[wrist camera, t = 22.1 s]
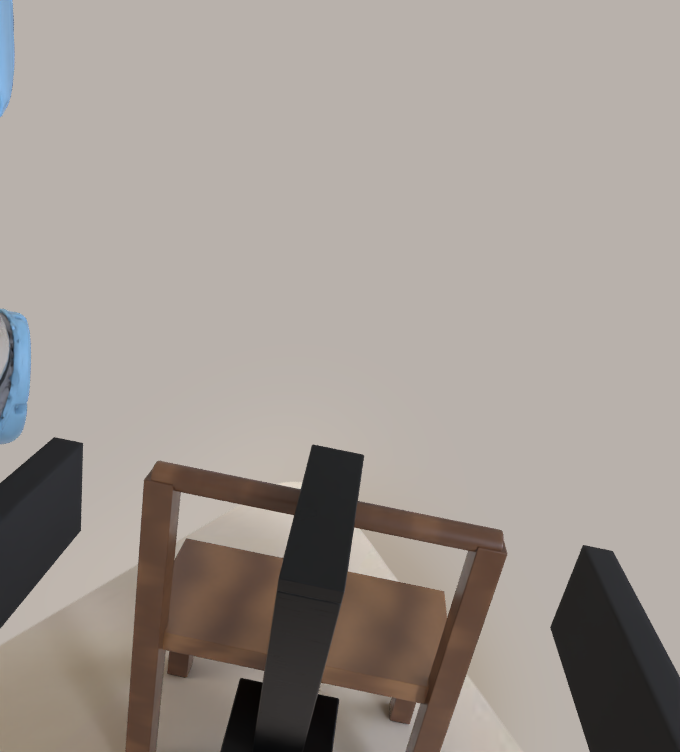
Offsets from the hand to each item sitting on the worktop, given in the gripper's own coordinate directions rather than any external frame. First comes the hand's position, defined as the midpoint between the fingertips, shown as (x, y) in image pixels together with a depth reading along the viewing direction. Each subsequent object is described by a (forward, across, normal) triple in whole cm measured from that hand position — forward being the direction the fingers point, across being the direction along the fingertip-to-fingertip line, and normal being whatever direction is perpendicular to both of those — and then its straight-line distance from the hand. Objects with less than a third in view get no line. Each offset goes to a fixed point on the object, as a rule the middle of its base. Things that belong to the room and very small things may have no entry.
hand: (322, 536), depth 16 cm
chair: (+19, 0, -32) cm, 37 cm away
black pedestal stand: (+17, 0, -27) cm, 32 cm away
